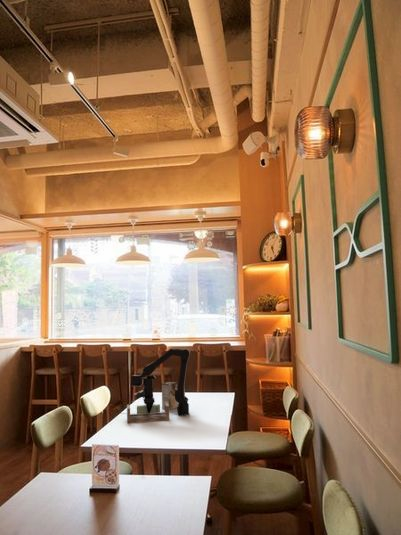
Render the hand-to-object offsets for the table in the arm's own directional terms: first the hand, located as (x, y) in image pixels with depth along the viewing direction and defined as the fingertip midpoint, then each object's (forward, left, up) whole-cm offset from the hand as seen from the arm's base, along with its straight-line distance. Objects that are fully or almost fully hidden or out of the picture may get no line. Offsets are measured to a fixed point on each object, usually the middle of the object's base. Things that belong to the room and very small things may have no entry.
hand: (148, 412), depth 259 cm
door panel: (0, 0, -2) cm, 2 cm away
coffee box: (-15, -15, -2) cm, 22 cm away
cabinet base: (+1, +12, -2) cm, 12 cm away
